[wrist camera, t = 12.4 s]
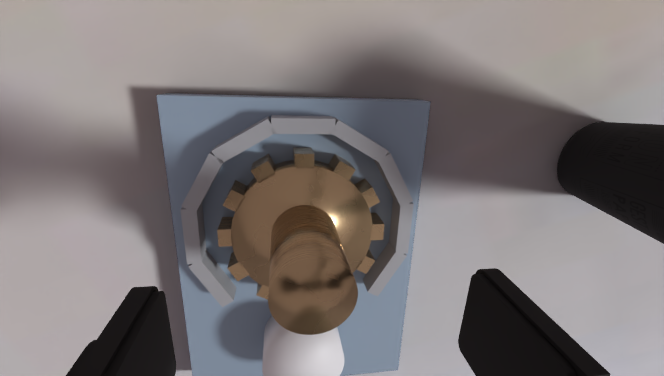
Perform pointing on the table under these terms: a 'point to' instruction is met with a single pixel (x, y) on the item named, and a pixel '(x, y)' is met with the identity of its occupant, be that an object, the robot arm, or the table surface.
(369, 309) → the carrier plate
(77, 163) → the table surface
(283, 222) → the bronze gear
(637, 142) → the drinking cup
